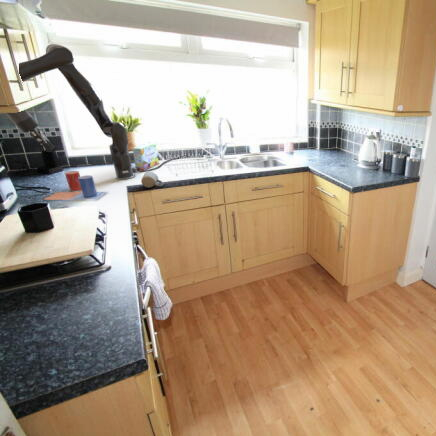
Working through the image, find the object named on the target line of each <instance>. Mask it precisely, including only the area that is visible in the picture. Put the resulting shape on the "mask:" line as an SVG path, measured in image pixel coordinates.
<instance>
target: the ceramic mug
mask: <svg viewBox="0 0 436 436" xmlns="http://www.w3.org/2000/svg"><path fill="white" fill-rule="evenodd" d="M140 182H141V185H142V186H143V187H145V188H147V189H151V188H154V187H163V186H164V181H162V180H160V179H159V177H158V175H157V174H156V173H155V172H153V171H146V172H144V174H143V176H141V181H140Z"/></svg>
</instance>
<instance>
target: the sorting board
mask: <svg viewBox="0 0 436 436" xmlns="http://www.w3.org/2000/svg"><path fill="white" fill-rule="evenodd" d="M105 193H107V191H97V196H95V197H90V198H85V197H83V193H82V191H67V192H66V191H63V192H62V191H61V192H60V191H59V192H57V191H56V192H55V193H53V194H51V195H48V197H46V198H44V199H43V200H44V201H50V200H51V201H53V200H54V201H55V200H57V201H58V200H97V199H99V198H100V197H102V196H104V194H105Z"/></svg>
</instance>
